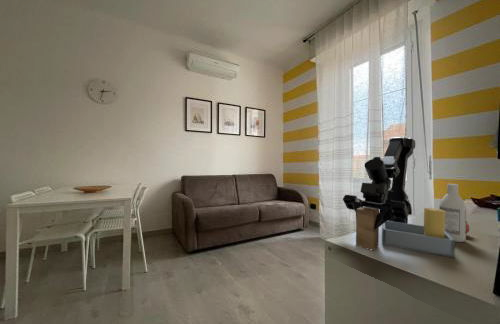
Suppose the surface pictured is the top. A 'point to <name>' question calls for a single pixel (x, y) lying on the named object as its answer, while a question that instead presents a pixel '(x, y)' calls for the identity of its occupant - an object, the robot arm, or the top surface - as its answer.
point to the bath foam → (454, 213)
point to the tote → (416, 239)
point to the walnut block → (367, 228)
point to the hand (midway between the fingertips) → (365, 226)
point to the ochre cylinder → (434, 222)
